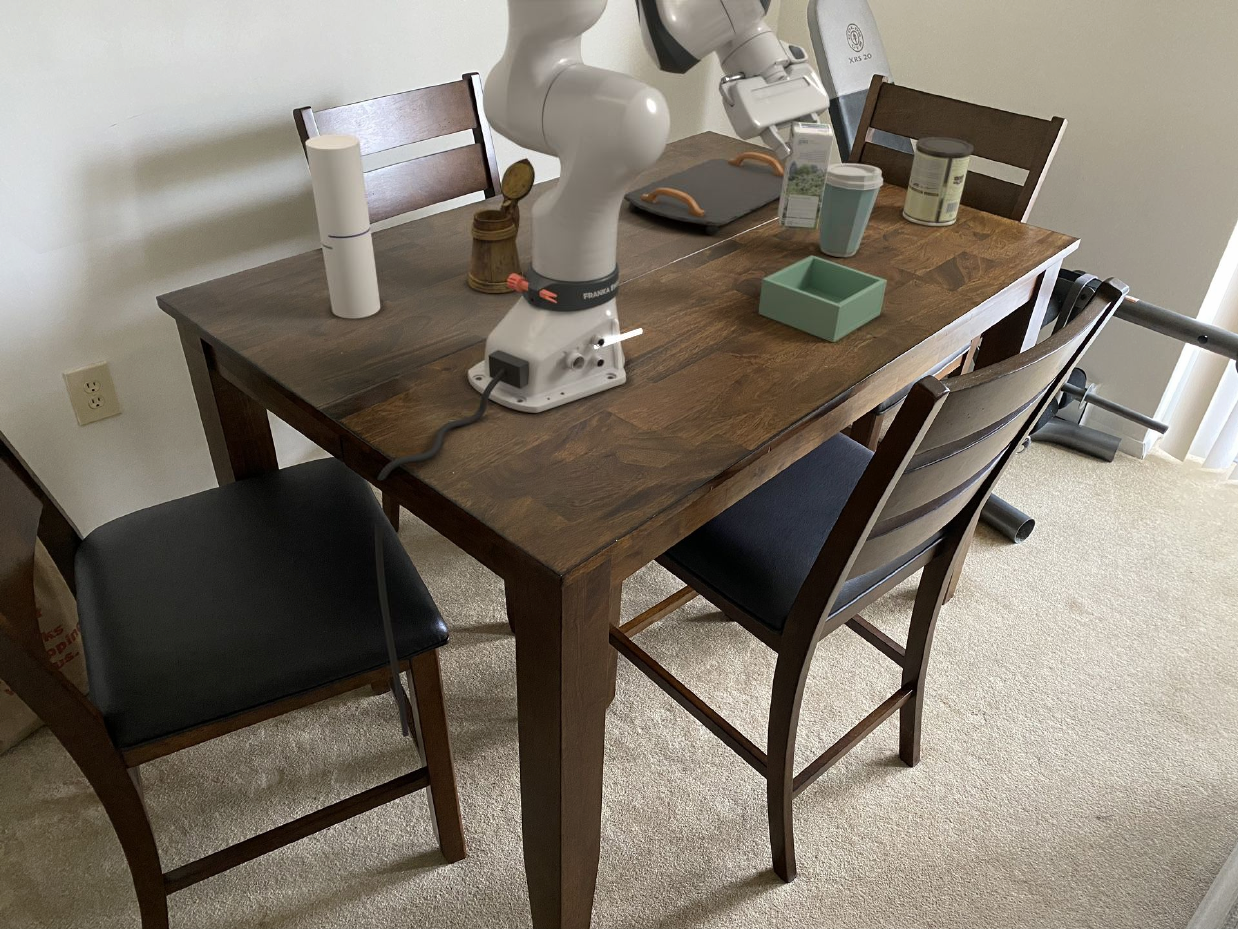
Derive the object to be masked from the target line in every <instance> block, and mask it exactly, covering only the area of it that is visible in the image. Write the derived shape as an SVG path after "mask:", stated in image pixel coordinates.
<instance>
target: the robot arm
mask: <svg viewBox="0 0 1238 929" xmlns="http://www.w3.org/2000/svg"><path fill="white" fill-rule="evenodd" d="M634 2H635V6H636V10H637V18H638V25H639V30H640V36H641V41H642V44H643V47H644V49H645V52H646V54H647V55H648V57H649V58H650V61H652V63H653V64H654V65H655V66H656V67H657V68H658V70H659V71H662V72H666V73H670V74H679V75H685V74H686V73H687V72H689V71H690V70H691V69H692V68H694V67H695V66H697V64H699V63H700V62H702V61H703V59H704V58H706V57H707V56H709V55H710V54H712V53H714V52H715V54H716V56H717V58H718V63H719V66H720V68H721V70H722V72H723V74H724V75H725V76H723V77H721V78H720V81H719V84H718V92H719V94H720V95H721V97H722V98H721V100H722V106H723V108H724V111H725V114H726V116H727V117H728V120H729V123H730V124H731V126H732V129H733V131H734V133H735V134H736V136H738V137H739V138H740V139H741V140H743V141H748V140H750V139H754V138H757V137H760V139H761V140H762V142H763V143H764V144H765V145H767V146H768V147H769V148H770V149H771V150H772V151H773V152H775V154H776V157H777V158H778V160H782V161H783V160H786V158H788V157H789V156H790V155H791V154H792V153H793V149H792V148H791V145H790V144H789V142H788V141H785V140H784V139H783V138H782V137H781V136H780V135H779V134H778V133H779V130H783V129H786V128H789V127H791V122H803V123H819V124H821V119H820V117H819V116H821V115H822V114H824V112H826V111H827V110H828V109H829V108H830V97H829V94H828V92H827V90H826V88H825V87H824V85H823V82H822V80H821V79H820V77H819V76H818V74H817V71H816V70H815V69H814V68H813V67H812V66H811V65H810V64H809V63H807V60H809V55H808V53H807V51H806V50H805V49H804V47H802V46H800V45H795V44H792V43H788V42H786V41H785V40H782V39H778V38H777V35H776V34H775V32H774V31H773V29H772V28H770V26H768V24H767V23H766V21H765V20H764V17H766V16H767V14H768V12H769V9H770V5H771V2H772V0H634ZM506 4H507V15H508V16H507V17H508V18H507V19H508V20H507V22H508V23H507V26H508V27H507V37H506V43H505V48H504V51H503V54H502V56H501V58H500V60H498V61H497V62H496V64H495V65H494V66H493V67H492V68H491V70H490V71H489V73H488V75H487V77H486V80H485V83H484V85H483V91H482V110H483V114H484V116H485V119H486V121H487V123H488V125H489V126H490V128H491V129H492V130H493V131H494V132H496V133H497V134H499V135H500V136H501V137H504V138H505V139H507V140H508V141H510V142H512V143H513V144H515V145H517V146H519V147H521V148H523V149H524V150H525V149H526V150H529V151H533V152H535V153H540V154H543V155H546V156H551V157H554V158H558V160H559V163H560V173H559V178H558V182H557V185H556V186H555V187H553V188H550V189H549V190H547V191H545V192H544V193H542V194H541V195H540V196H539V197H538V198H537V199H536V200H535V202H534V204H533V205H532V207H531V210H530V240H531V242H530V243H531V246H530V247H531V261H530V262H529V265H528V268H527V271H526V275H525V277H524V276H523V277H520V276H519V275H517V274H515V273H513V274H511V275H510V276H509V278H508V279H507V281H508V282H507V284H508V285H507V286H508V287H509V288H511V289H515V290H514V291H516V292H518V293H521V296H520V298H518V300H517V301H516V302H515V303H514V305H513V306H512V307H511V308H510V309H509V310H508V312H507V313H506V314H505V315H504V317H502V319H501V320H500V321H499V322H498V323H497V325H496V326H495V327H494V328H493V329H492V330H491V332H490V333H489V334H488V336H487V339H486V342H485V349H484V359H483V360H482V361H480V362H478V363H477V364H475V365H474V366H472V367H471V368H469V369H468V370H467V379H468V382H469V384H470V385H471V386H472V388H474V389H475V390H476V391H477V392H478V393H480V394H481V398H480V403H479V407H478V409H477V411H476V412H475V413H474V414H472V415H471V416H469V417H467V418H463V419H462V418H461V419H458V420H454V421H450V422H447V423H445V424H444V425H442V426H441V427H439V429H438V430H437V432H436V434H435V437H434V441H433V445H432V447H431V448H429V450H427V451H425V452H423V453H421V454H415V455H410V456H402V457H399V458H396V459H394V460H392V461H390V462H388V464H386V465H385V467H383V469H382V470H381V471H380V472H379V474H378V476H377V481H384V480H386V479H387V477H388V476H389V474H390V473H391V472H392V471H393V470H395V469H396V468H397V467H400V466H404V465H408V464H415V463H422V462H424V461H425V462H426V461H427V460H429V459H431V458H433V457H434V456H435V455H436V454H437V453H439V451H440V450H441V449H440V448H441V446H442V442H443V437H444V436H445V434H446V433H447V432H448V431H450V430H452V429H456V428H459V427H465V426H469V425H471V424H474V423H476V422H477V421H479V420H480V419H481V418H482V417H483V415H484V414H485V412H486V409H487V406H488V402H489V400H491V401H493V402H495V403H497V404H498V405H502V406H503V407H506V408H508V409H512V410H515V411H519V412H524V413H532V414H537V413H541V412H544V411H548V410H550V409H553V408H556V407H559V406H562V405H565V404H568V403H572V402H575V401H577V400H579V399H583V398H585V397H589V396H591V395H594V394H597V393H600V392H603V391H607V390H609V389H612V388H615V387H618V386H622V385H624V384H625V383H626V382H627V374H626V371H625V368H624V367H625V364H626V357H625V354H624V351H623V347H622V343H621V341H624V340H626V339H630V338H632V337H635V336H638V335H641V334H643V329H642V328H638V329H635V330H634V329H633V330H632V331H628V332H626V333H622V334H621V330H620V321H619V314H618V308H617V299H616V298H617V295H618V294H619V290H620V289H619V288H620V287H619V285H620V272H619V271H620V269H619V268H620V266H619V264H618V262H617V243H618V227H619V218H620V217H619V216H620V213H621V212H620V211H621V207H622V204H623V200H624V196H625V195H626V194H627V192H628V189H629V188H630V186H631V185H632V183H633V182H634V181H635V179H637V177H639V176H640V175H641V174H643V173H644V172H645V171H647V170H648V169H650V168H651V167H652V166H653V165H655V164H656V163H657V161H658V160H659V159H660V157H661V156H662V155H663V153H664V151H665V149H666V147H667V145H668V142H669V138H670V133H671V115H670V114H671V113H670V109H669V105H668V103H667V100H666V98H665V96H664V95H663V93H662V92H661V91H660V90H659V89H657V88H655V87H653V86H651V85H650V84H648V83H646V82H644V81H642V80H641V79H639V78H637V77H634V76H632V75H630V74H628V73H625V72H620V71H615V70H610V69H605V68H601V67H596V66H591V65H587V64H585V62H584V60H583V58H582V53H581V52H582V51H581V46H582V45H581V43H582V36H583V34H584V33H586V32H587V31H589V30H590V29H592V28H593V27H594V26H595V25H596V24H597V23H598V22H599V20H600V19H601V17H602V16H603V14H604V13H605V10H606V8H607V6H608V0H506ZM374 544H375V545H374V548H375V564H376V577H377V586H378V594H379V601H380V610H381V615H382V616H381V617H382V622H383V629H384V633H385V638H386V639H385V640H386V645H387V650H388V656H389V661H390V667H391V672H392V677H393V678H392V679H393V684H394V688H395V695H396V701H397V706H398V713H399V720H400V727H401V735H402V737H404V738H406V737H409V726H408V718H407V717H408V716H407V711H406V705H405V698H404V692H403V686H402V681H401V680H402V679H401V675H400V674H401V673H400V669H399V664H398V663H399V662H398V658H397V653H396V652H397V651H396V646H395V641H394V635H393V628H392V622H391V616H390V610H389V603H388V594H387V587H386V578H385V564H384V548H383V547H384V546H383V525H381V524H379V523H378V522H374Z"/></svg>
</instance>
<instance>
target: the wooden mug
mask: <svg viewBox="0 0 1238 929" xmlns="http://www.w3.org/2000/svg"><path fill="white" fill-rule="evenodd" d="M535 179H536V172H535V168H534V166H533V164H532V163H531V161H530V160H529V159H528V158H527V157H526V158H522V159H519V160H517V161H515V162H513V163H512V164H511V165H509V166H508V167H507V168H506V170H505V171H504V173H503V176H502V178H501V183H500V191H501V194H502V197H503V201H502V203H501V206H500V208H499V210H498V209H482V210H479V211H477V212H475V213H474V214H473V221H472V222H471V229H470V230H471V231H470V234H471V235H470V236H471V237H472V244H471V245H472V246H471V259H470V269H469V272H468V280H467V283H468V286H469V287H470V288H472V289H473V290H476V291H479V292H481V293H482V292H483V293H487V294H490V293H491V294H501V293H502V294H503V293H509V292H513V291H516V290H515V289H511V288H509V287H508V286H507V285H508V284H507V282H508V281H507V279H508V278H509V276H510V275H511V274H513V273H515V274H517V275H519V276H520V277H524V272H523V269H522V267H521V263H520V256H519V252H518V247H517V237H518V234H519V228H520V217H521V216H520V208H519V202H520V201H522V200H523V199H525V198H526V197H527V196H528V195H529V194H530V192H531V191H532V189H533V186H534V183H535Z"/></svg>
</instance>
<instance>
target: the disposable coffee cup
mask: <svg viewBox="0 0 1238 929" xmlns="http://www.w3.org/2000/svg"><path fill="white" fill-rule="evenodd" d="M882 173H883V171H882V170H881V168H879V167H877V166H873V165H869V164H862V163H847V162H840V163H833V164H829V166H828V171H827V177H826V182H825V188H824V193H823V199H822V205H821V210H820V216H819V239H818V240H819V241H818V243H819V247H820V251H821V252H822V253H824V254H826V255H828V256H832V257H837V258H848V257H853V256H854V255H855V254H856V253H857V251H858V250H859V249H860V248H859V247H860V244H861V242H862V240H863V237H864V233H865V230H866V228H867V225H868V223H869V220H870V218H871V217H870V216H871V214H872V211H873V209H874V205H875V202H876V201H877V200H876V199H877V197H878V194H879V191H880V189H881V187H882V186H884V178H883V176H882Z"/></svg>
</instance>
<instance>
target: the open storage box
mask: <svg viewBox="0 0 1238 929" xmlns="http://www.w3.org/2000/svg"><path fill="white" fill-rule="evenodd" d="M887 282H888V280H887V279H885V278H881V277H879V276H876V275H872V274H869V273H866V272H863V271H860V270H857V269H854V268H851V267H848V266H845V265H842V264H839V263H836V262H834V261H831V260H827V259H824V258H821V257H819V256H815V255H809V256H808V257H805V258H803V259H801V260H799V261H797V262H795V263H793V264H791V265H789V266H786V267H784V268H782V269H781V270H778V271H776V272H774V273H772V274H770V275H768V276H766V277H763V278H762V281H761V288H760V296H759V304H758V306H759V307H758V315H761V316H764V317H766V318H769V319H771V320H774V321H776V322H778V323H781V324H784V325H787V326H789V327H792V328H794V329H797V330H799V331H802V332H804V333H807V334H810V335H812V336H815V337H817V338H819V339H823V340H826V341H828V342H831V343H835V342H837V341H838V340H841V339H842V338H843V337H846V336H847V335H849V334H851V333H852V332H853V331H855V330H857V329H858V328H860V327H862V326H863V325H865V324H867V323H868V322H871V321H872V320H874V319H875V318H877V317H879V316H881V312H882V307H883V302H884V297H885V292H886V287H887Z"/></svg>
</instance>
